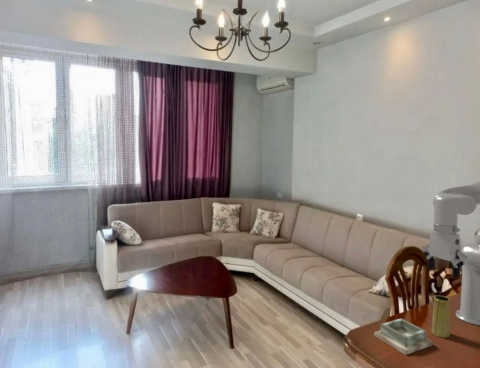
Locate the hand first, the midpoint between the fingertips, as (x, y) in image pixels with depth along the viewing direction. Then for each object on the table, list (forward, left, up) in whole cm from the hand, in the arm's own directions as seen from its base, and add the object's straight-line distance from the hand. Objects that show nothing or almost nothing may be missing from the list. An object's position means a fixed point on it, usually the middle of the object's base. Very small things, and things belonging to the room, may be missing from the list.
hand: (442, 273), depth 131 cm
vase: (0, 0, -24) cm, 24 cm away
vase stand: (+17, -3, -24) cm, 29 cm away
